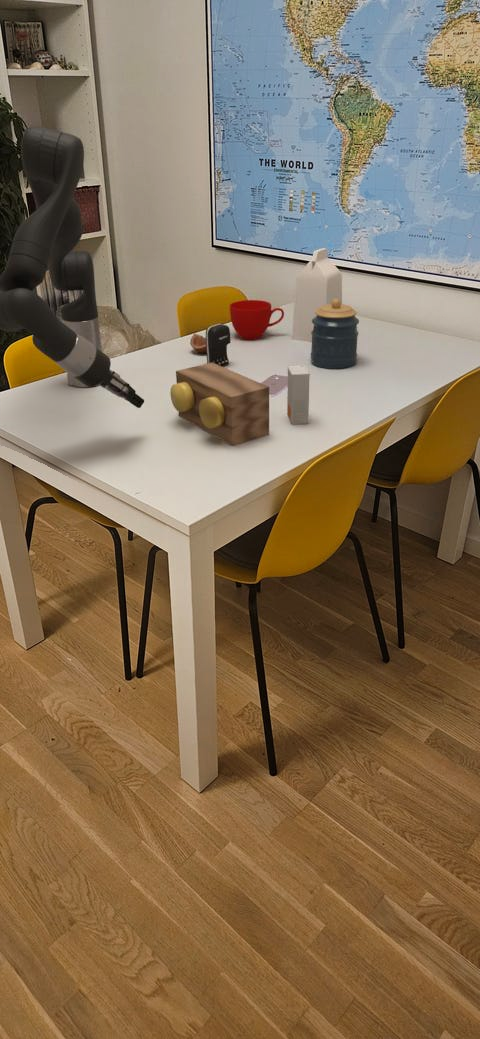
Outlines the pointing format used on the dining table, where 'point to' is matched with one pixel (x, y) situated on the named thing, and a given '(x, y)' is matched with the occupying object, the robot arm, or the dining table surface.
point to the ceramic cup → (252, 318)
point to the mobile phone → (276, 384)
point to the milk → (314, 292)
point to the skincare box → (298, 394)
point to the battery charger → (217, 344)
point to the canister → (334, 336)
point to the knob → (182, 397)
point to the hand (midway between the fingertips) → (140, 403)
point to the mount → (226, 403)
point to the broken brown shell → (198, 343)
